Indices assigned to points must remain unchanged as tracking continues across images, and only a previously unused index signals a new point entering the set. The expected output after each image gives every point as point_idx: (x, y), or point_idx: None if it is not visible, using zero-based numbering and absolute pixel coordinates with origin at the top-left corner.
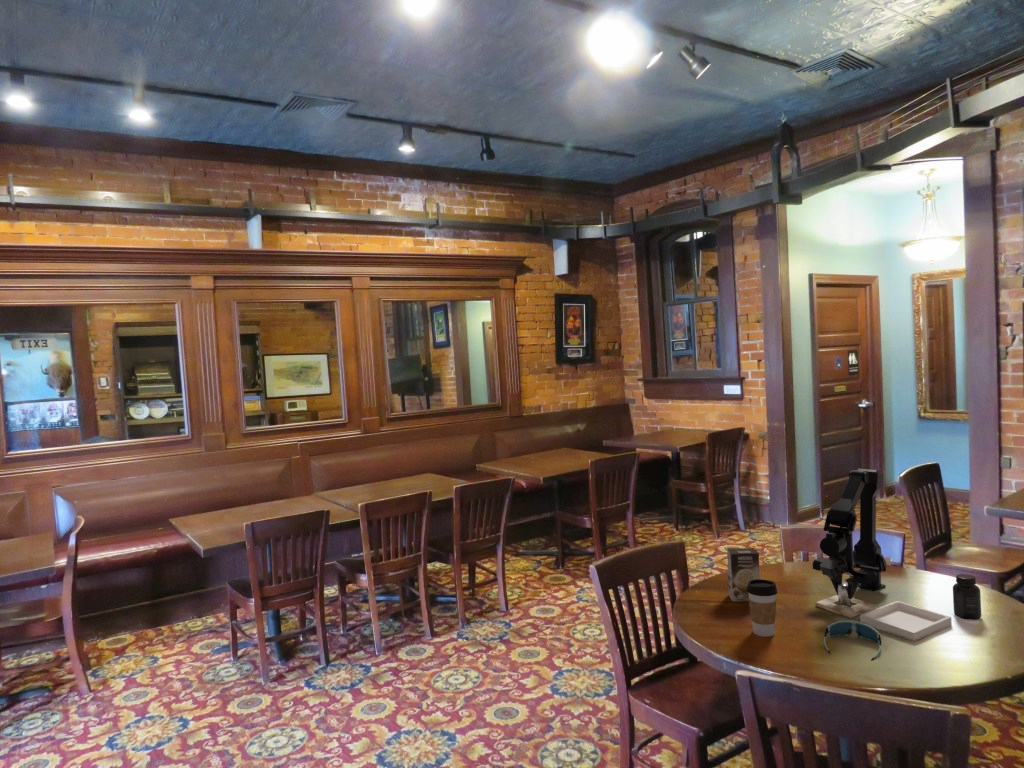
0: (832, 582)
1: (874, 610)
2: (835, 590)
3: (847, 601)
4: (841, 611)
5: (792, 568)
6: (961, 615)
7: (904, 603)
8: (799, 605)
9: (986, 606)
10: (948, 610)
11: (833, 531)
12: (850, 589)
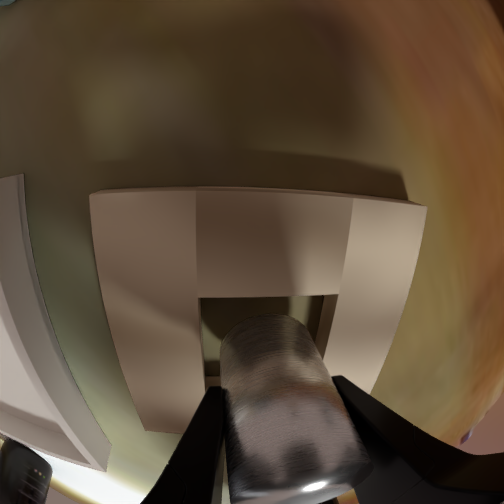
0: (430, 441)
1: (11, 334)
2: (370, 396)
3: (226, 359)
4: (175, 190)
5: (491, 396)
6: (10, 445)
7: (73, 461)
8: (460, 141)
9: (73, 492)
10: (65, 469)
11: None
12: (171, 472)
